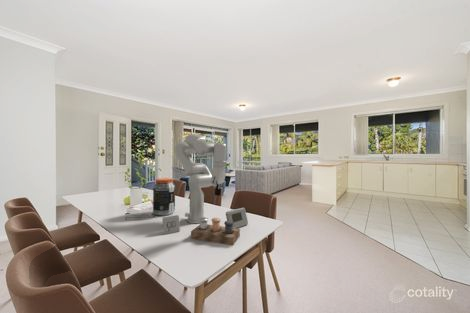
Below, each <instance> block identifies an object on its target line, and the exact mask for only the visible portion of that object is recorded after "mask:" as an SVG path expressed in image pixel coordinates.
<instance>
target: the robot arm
mask: <svg viewBox="0 0 470 313" xmlns="http://www.w3.org/2000/svg"><path fill="white" fill-rule="evenodd" d="M184 140H185V142H184V141H183V142H182V141H181V142H177V143H176V144H175V146H174V153H175V157H176V158H177V159H178V161H179V162H180V164H181V166H182V169H183V170H184V172H185V174H186V175H187V176H189V177H188V181H187V183H188V188H189V189H188V190H189V212H185V214H184V217H187V218H186V222H187V223H189V224H200V221H199V219H200V218H206V217H205V216H204V215H205V214H204V212H205V209H204V207H205V206H204V205H205V204H204V203H205V202H204V201H205V200H204V199H205V193H204V191H203V190H202V188H204V189H205V188H210V187H211V186H213V187H214V196H221V195H222V186H223V183H224V182H225V178H226V170H225V169H226V167H227V166H226V165H227V163H226V162H227V161H226V160H227V145H226V143H220V142H209V141H208V142H207V139H206V137H205V136H204V135H203V134H195V133H191V134H188V135H186V137H185V139H184ZM189 154H190V155H191V154H192V155H193V154H200V155H202V156H210V155H211V156H213V157H212V170H211V171H210V169H209V168H208V165H206V164H205V163H203V162H195V161H194V160H193V158H192V157H191V156H190V155H189Z"/></svg>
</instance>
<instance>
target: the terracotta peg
mask: <svg viewBox="0 0 470 313" xmlns="http://www.w3.org/2000/svg"><path fill="white" fill-rule="evenodd" d="M211 222H212V224H211V225H212V232H219V231H220V226H221V224H220V222H221V218H220V217H212V218H211Z"/></svg>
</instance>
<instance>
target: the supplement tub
mask: <svg viewBox="0 0 470 313" xmlns="http://www.w3.org/2000/svg"><path fill="white" fill-rule="evenodd" d="M152 191H153V192H152V197H153V198H152V213H153V212H154V213H153V214H154V215H155V216H169V215H172V214H174V213H175V212H176V185H175V183H174V179H173V178H167V177H166V178H163V177H162V178H156V179H155V184H154V185H153V189H152Z"/></svg>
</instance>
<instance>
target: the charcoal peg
mask: <svg viewBox="0 0 470 313" xmlns="http://www.w3.org/2000/svg"><path fill="white" fill-rule="evenodd" d="M224 227H225V233H226V234H232V230H233V221H227V220H225V221H224Z"/></svg>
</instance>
